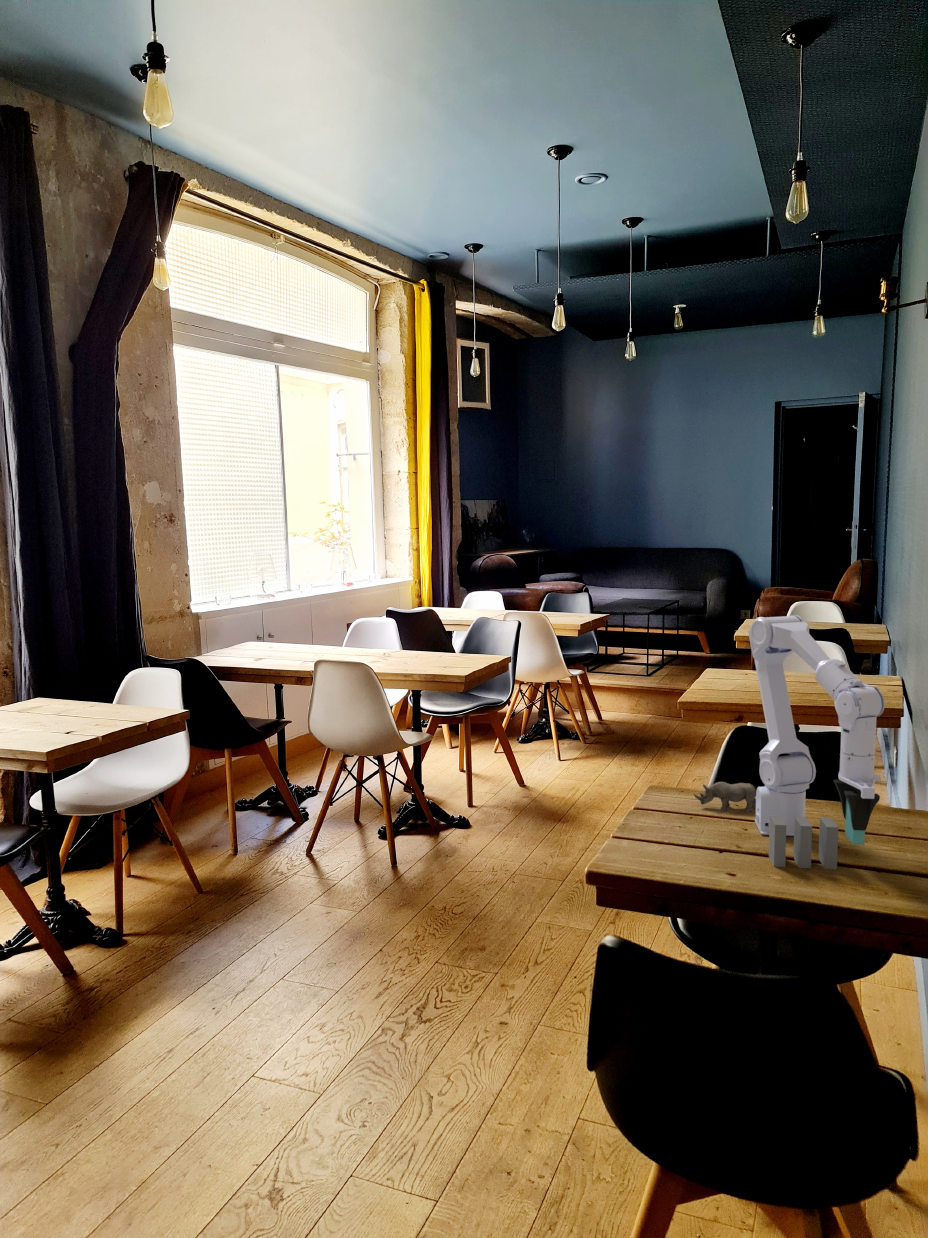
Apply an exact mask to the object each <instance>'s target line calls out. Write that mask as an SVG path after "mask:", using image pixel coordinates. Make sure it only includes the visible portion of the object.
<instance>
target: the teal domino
mask: <svg viewBox="0 0 928 1238" xmlns="http://www.w3.org/2000/svg"><path fill="white" fill-rule="evenodd" d="M844 819H845V818H844ZM844 834H845V836H846V838H847V839H848V840H849V842H850V843H851V844H852V845H865V837H866V836H865V835H866V830H865V831H862V830H853V827H852V823H851V814H850V808H849V804H848V801H847V798H846V819H845V823H844Z"/></svg>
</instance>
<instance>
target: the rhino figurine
mask: <svg viewBox="0 0 928 1238" xmlns="http://www.w3.org/2000/svg"><path fill="white" fill-rule="evenodd" d="M702 787H703V789H705V791H704V793H703V792H699V795H700V796H699V795H697V794H695V793H693V796H694V798H695V799H696V800H699V802H700V804H701V806H703V805H706V804H708V803H710V802H712V801H713V800H714V798H718V799H720V802H721V807H720V809H719V810H720V811H721V812H722V811H723V812H724V811H725V812H726V811H727V810H728V808H729V807H730V806H731V804H730V802H733V803H739V802H743V801H744V800H745V802H746V805H745V807H744V809H743V812H747V813H750V812H752V810H756V791H757V788H756V787H755V786H754V785H753V784H751V783H747V782H746V783H744V782H738V783H732V784H730V783H727V782H725V781H718V782H715V783H714V784H711V785H710V786H707V785H706V784H704V783H703V785H702Z"/></svg>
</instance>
